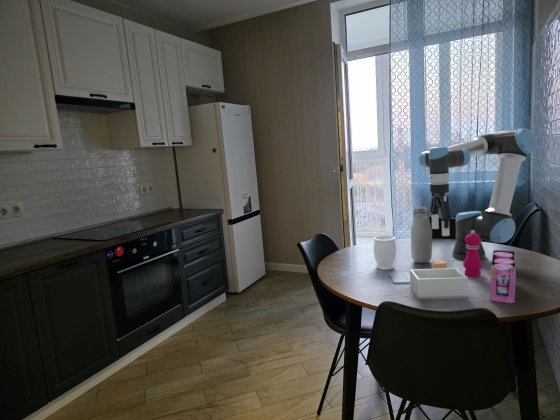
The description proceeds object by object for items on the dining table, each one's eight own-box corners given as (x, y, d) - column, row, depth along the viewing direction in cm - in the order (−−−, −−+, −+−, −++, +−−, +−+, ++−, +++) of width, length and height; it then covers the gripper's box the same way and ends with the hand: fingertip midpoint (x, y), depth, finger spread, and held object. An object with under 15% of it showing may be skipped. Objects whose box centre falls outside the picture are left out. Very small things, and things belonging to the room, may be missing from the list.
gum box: (515, 305, 130) (516, 268, 128) (489, 302, 134) (489, 266, 132) (514, 283, 150) (515, 251, 148) (492, 281, 154) (492, 249, 152)
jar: (397, 270, 176) (396, 239, 173) (374, 270, 178) (373, 240, 176) (395, 264, 186) (394, 234, 184) (373, 264, 188) (372, 235, 186)
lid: (440, 272, 169) (440, 257, 168) (450, 282, 156) (450, 266, 155) (388, 274, 171) (388, 260, 170) (394, 284, 159) (394, 268, 158)
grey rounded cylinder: (412, 265, 182) (411, 209, 178) (410, 259, 192) (409, 205, 188) (433, 265, 179) (433, 208, 175) (431, 259, 189) (430, 205, 185)
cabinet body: (455, 286, 151) (455, 267, 150) (467, 298, 139) (467, 277, 138) (410, 288, 153) (409, 269, 152) (418, 299, 141) (417, 279, 140)
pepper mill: (480, 272, 165) (480, 228, 163) (483, 277, 159) (483, 232, 156) (462, 271, 168) (462, 228, 165) (464, 277, 161) (464, 232, 158)
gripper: (421, 181, 171) (423, 226, 174) (439, 187, 146) (441, 239, 149) (438, 180, 170) (439, 225, 173) (459, 185, 145) (460, 238, 148)
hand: (440, 232), depth 161 cm, fingers open, 13 cm apart
